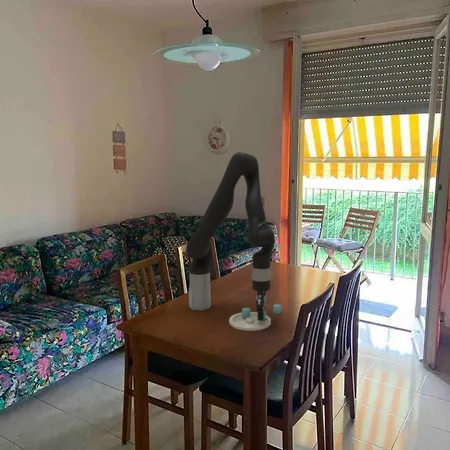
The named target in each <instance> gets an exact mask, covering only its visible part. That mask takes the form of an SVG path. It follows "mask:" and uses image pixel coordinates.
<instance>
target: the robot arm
mask: <svg viewBox="0 0 450 450" xmlns="http://www.w3.org/2000/svg"><path fill="white" fill-rule="evenodd" d="M227 164H228V165H227V167H226V169H225V171H224V174H223V177H222V179H221V181H220V183H219V186H218V187H217V189H216V191H215V193H214V194H213V197H212V198H211V200H210V201H209V202H210V203H209V204H208V206H207V207H206V210H205V212H204V214H203V216H202V218H201V220H200V222H199V225H198V227H197V228H196V230H195V231H194V233H193V234H192V236H191V238H190V239H189V240H188V242H187V244H186V249H185V251H186V254H187V256H188V257H189V258H190V259H191V264H190V265H189V268H188V272H189V287H188V308H189V309H191V311H206V310H209V309H210V308H211V304H212V303H211V267H212V259H213V258H212V254H213V253H212V252H213V251H212V250H213V249H212V242H211V239H212V237H213V235H215V233H216V232H217V230H218V229H219V228H220V227H221V226H222V225H223V223H224V222H225V220H227V217H228V216H229V214H230V212H231V211H232V208H233V205H234V200H235V199H234V198H235V188H236V186H237V184H238V181H239V180H240V178H241V177H242V176H243V178H244V180H245V183H246V197H245V202H244V204H245V211H246V216H247V219H248V220H247V221H248V227H247V228H248V229H247V240H248V241H247V242H248V243H249V245H250V246H251V247H253V248H260V250H258V251H255V252H254V253H253V254H252V270H251V289H252V290H253V291H255V292H256V294H255V306H256V307H255V308H256V313H257V312H258V320H260V321H263V318H264V310H266V305H267V292H269V291H270V290H271V288H272V286H271V285H272V284H271V280H272V278H271V277H272V275H271V274H272V273H271V255H272V253H273V249H274V244H275V239H276V237H275V236H276V235H275V232H274V231H273V230H272V229H271V228H270V227H269V228H259V227H258V226H259V225H261V224H263V223H265V222H266V221H267V220H266V219H267V218H266V214H265V213H266V211H265V208H264V204H263V199H262V193H261V181H260V168H259V161H258V160H257V157H255V155H254V154H253V155H252V154H249V153H246V152H243V151H238V152H236V153H234V154H233V155H232V156H231V158H230V160H229V161H228V163H227Z"/></svg>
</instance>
